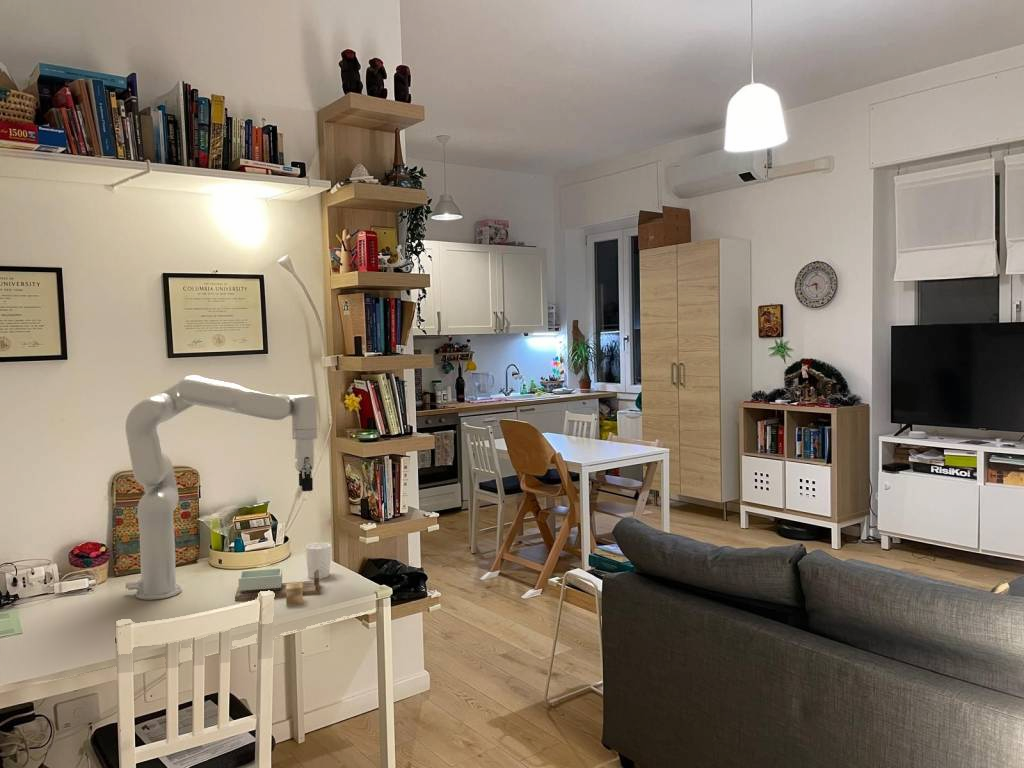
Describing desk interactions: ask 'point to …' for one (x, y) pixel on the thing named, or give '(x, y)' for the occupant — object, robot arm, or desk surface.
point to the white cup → (318, 559)
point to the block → (294, 594)
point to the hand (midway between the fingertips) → (305, 488)
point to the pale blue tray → (260, 579)
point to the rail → (282, 589)
